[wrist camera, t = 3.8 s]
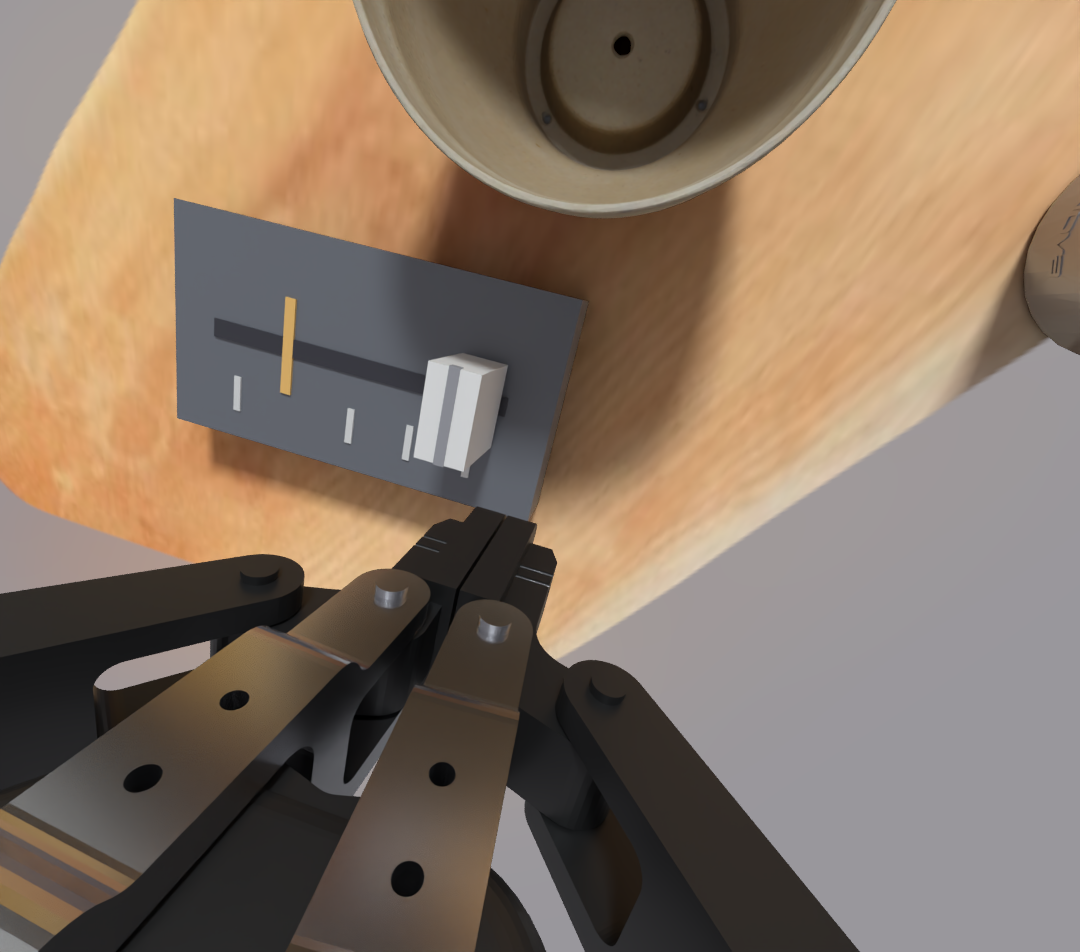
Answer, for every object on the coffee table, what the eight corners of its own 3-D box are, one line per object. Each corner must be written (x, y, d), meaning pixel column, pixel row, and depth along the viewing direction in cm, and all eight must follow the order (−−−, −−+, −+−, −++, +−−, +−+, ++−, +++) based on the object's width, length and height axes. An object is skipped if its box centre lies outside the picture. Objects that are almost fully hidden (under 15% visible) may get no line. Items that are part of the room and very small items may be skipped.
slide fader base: (588, 301, 27) (582, 300, 24) (537, 504, 31) (526, 523, 28) (218, 209, 29) (171, 197, 26) (216, 409, 33) (175, 418, 30)
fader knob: (508, 364, 25) (481, 373, 21) (490, 448, 27) (462, 473, 23) (462, 352, 26) (428, 359, 21) (448, 436, 27) (412, 458, 23)
